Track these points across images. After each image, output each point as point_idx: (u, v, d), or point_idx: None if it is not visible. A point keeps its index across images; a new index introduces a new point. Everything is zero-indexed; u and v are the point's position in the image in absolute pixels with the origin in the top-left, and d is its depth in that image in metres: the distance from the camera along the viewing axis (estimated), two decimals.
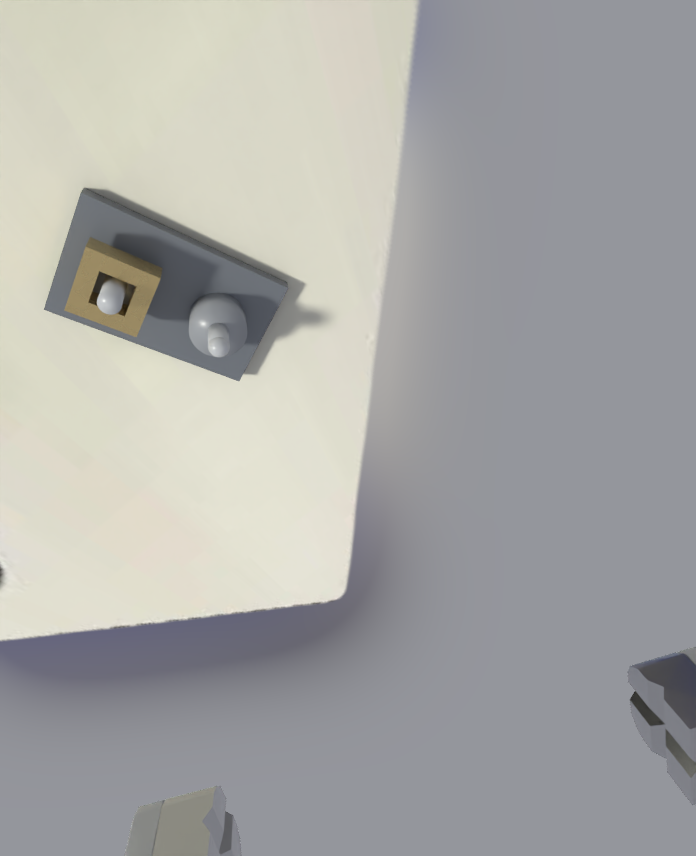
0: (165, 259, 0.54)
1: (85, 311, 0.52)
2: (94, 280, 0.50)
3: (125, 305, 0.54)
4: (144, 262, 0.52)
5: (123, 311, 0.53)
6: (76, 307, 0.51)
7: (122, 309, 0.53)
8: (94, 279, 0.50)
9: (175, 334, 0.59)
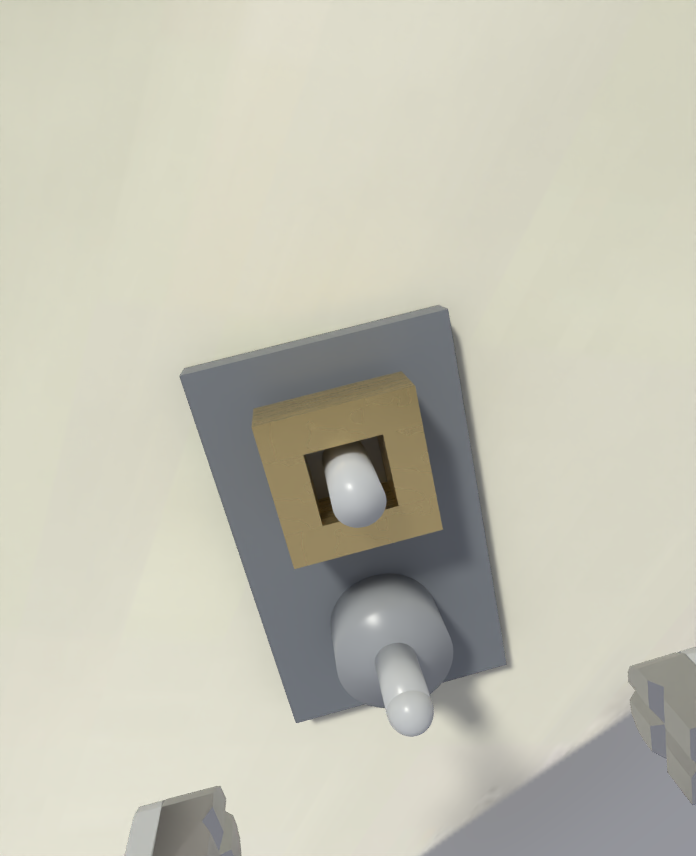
0: None
1: (279, 461, 0.22)
2: (357, 437, 0.22)
3: (317, 498, 0.25)
4: None
5: (319, 512, 0.24)
6: (274, 443, 0.22)
7: (318, 505, 0.24)
8: (359, 436, 0.22)
9: (305, 588, 0.29)
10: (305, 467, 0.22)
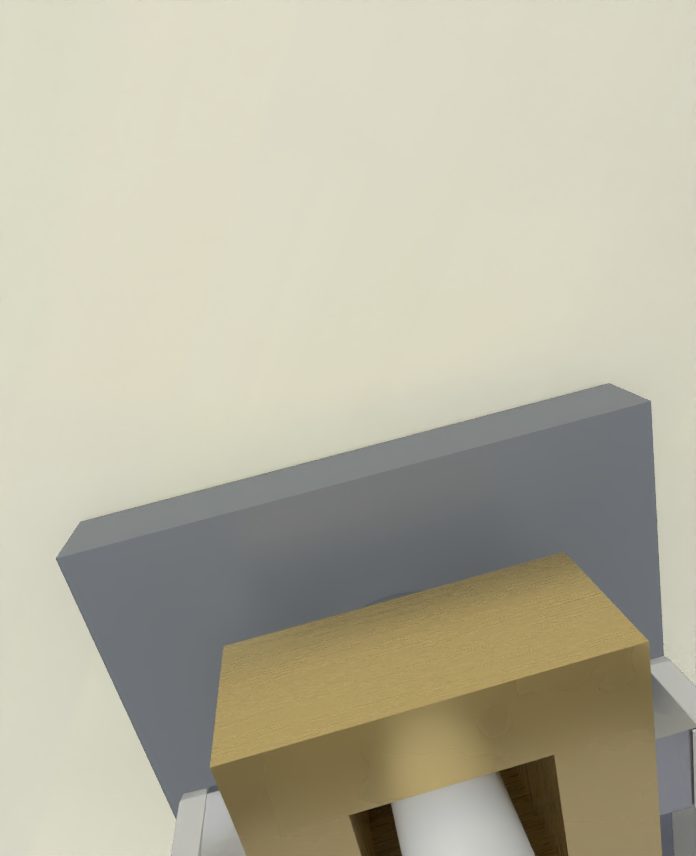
0: None
1: (287, 835, 0.08)
2: (489, 766, 0.09)
3: (368, 817, 0.12)
4: None
5: None
6: (273, 797, 0.08)
7: None
8: (496, 764, 0.09)
9: None
10: (353, 839, 0.09)
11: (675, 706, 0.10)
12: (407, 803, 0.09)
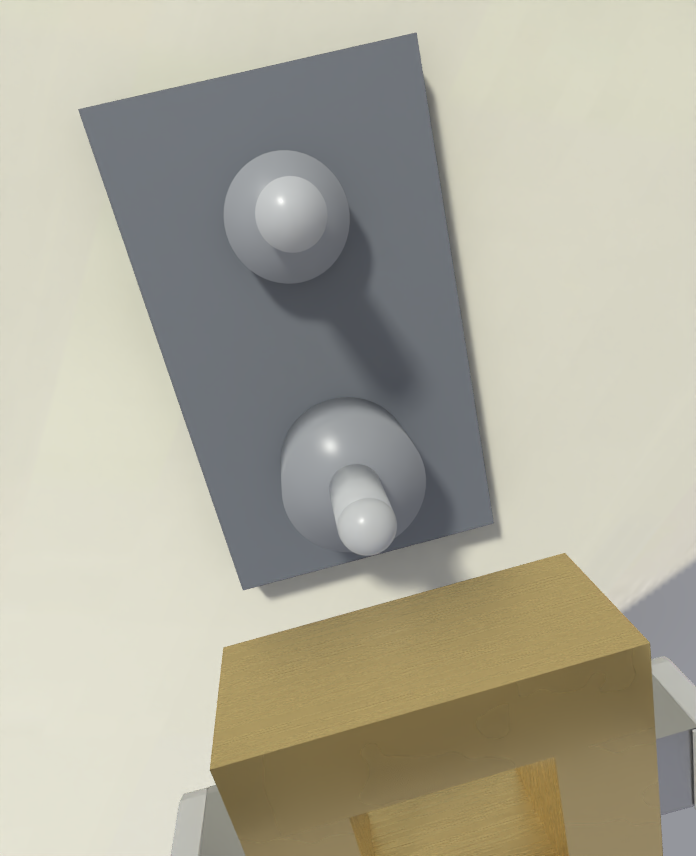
0: (394, 286, 0.23)
1: (287, 837, 0.08)
2: (490, 768, 0.09)
3: (368, 818, 0.12)
4: None
5: None
6: (273, 798, 0.08)
7: None
8: (496, 766, 0.09)
9: (248, 411, 0.24)
10: (353, 841, 0.09)
11: (675, 706, 0.10)
12: None
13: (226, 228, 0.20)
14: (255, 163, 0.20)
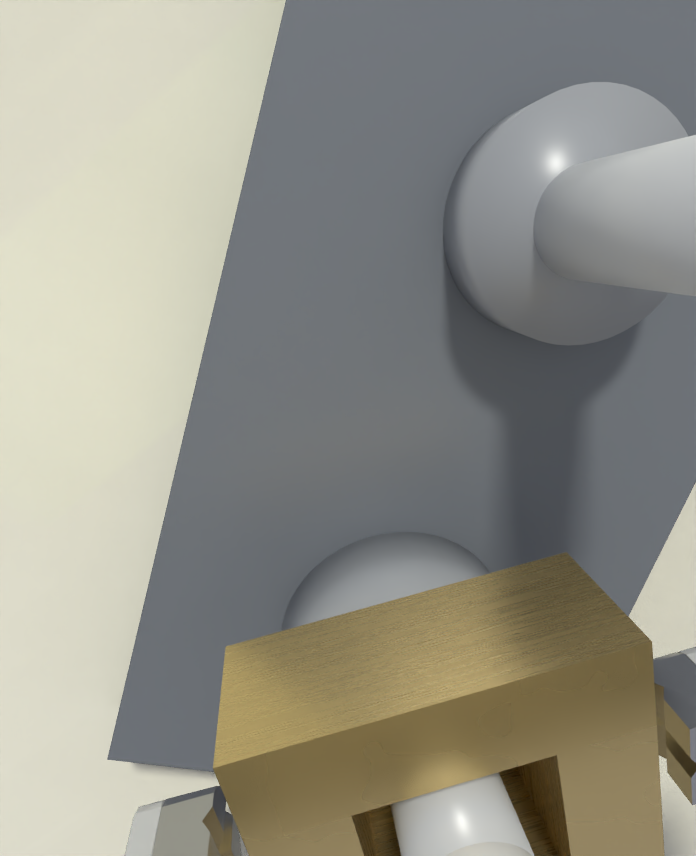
0: (626, 418, 0.13)
1: (289, 836, 0.08)
2: (492, 767, 0.09)
3: (370, 817, 0.12)
4: None
5: None
6: (276, 797, 0.08)
7: None
8: (498, 765, 0.09)
9: (294, 489, 0.13)
10: (356, 839, 0.09)
11: None
12: (635, 151, 0.08)
13: (481, 172, 0.10)
14: (603, 92, 0.10)
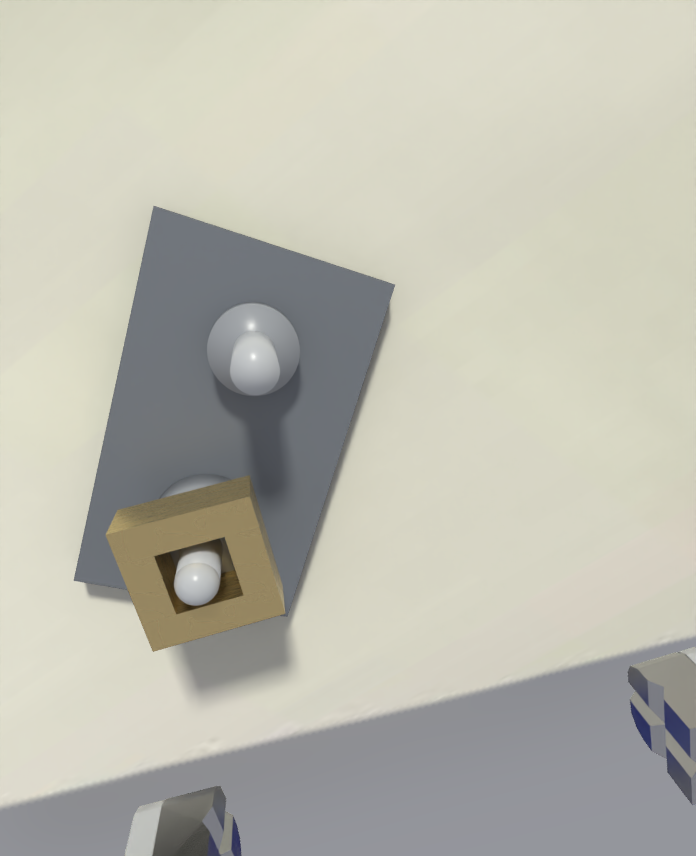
0: (302, 424, 0.31)
1: (133, 562, 0.26)
2: (201, 540, 0.26)
3: None
4: (275, 563, 0.29)
5: (176, 600, 0.27)
6: (127, 547, 0.25)
7: None
8: (203, 539, 0.26)
9: (154, 454, 0.30)
10: (156, 566, 0.26)
11: None
12: (243, 339, 0.26)
13: (210, 335, 0.27)
14: (252, 308, 0.27)
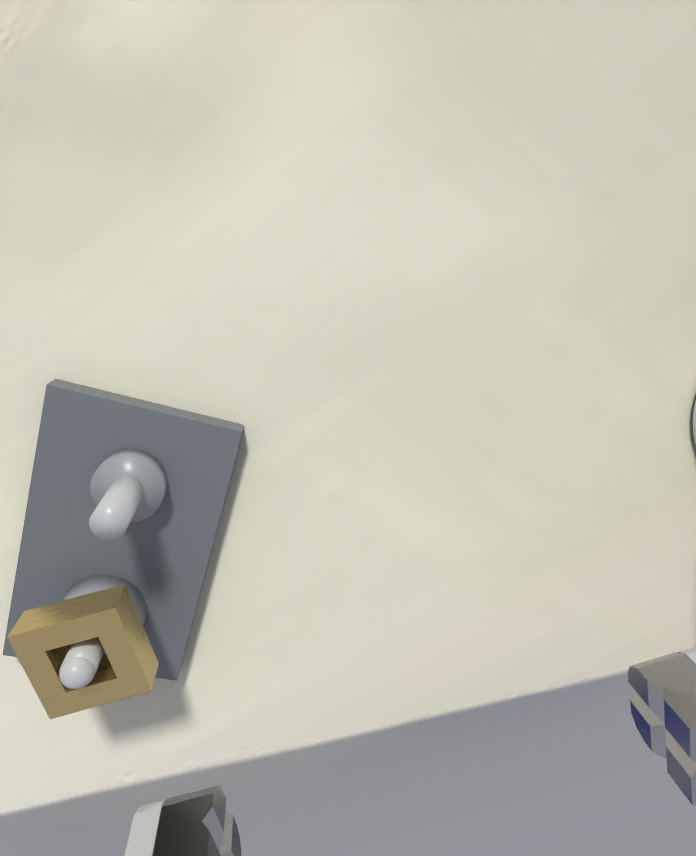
0: (176, 536, 0.39)
1: (29, 656, 0.34)
2: (81, 639, 0.34)
3: None
4: (149, 648, 0.38)
5: None
6: (24, 645, 0.34)
7: None
8: (82, 638, 0.34)
9: (60, 561, 0.38)
10: (48, 658, 0.34)
11: None
12: (109, 490, 0.34)
13: (92, 480, 0.35)
14: (123, 459, 0.35)
